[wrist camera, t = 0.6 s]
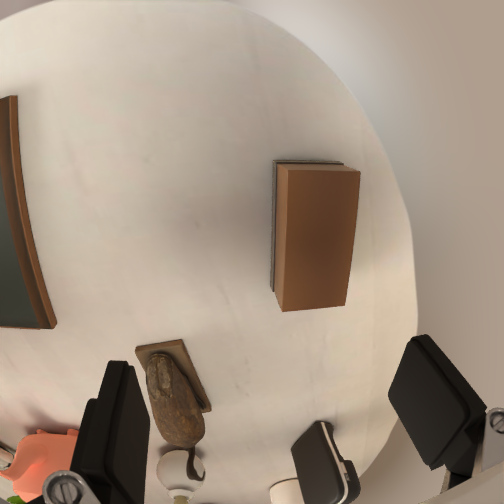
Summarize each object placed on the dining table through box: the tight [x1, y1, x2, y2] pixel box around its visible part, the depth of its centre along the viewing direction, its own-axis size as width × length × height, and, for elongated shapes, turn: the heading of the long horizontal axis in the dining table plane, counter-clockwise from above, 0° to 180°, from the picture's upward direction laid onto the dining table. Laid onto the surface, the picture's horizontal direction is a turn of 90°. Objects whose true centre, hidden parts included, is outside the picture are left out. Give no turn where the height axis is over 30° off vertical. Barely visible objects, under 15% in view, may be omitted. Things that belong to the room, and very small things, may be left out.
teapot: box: [0, 429, 79, 503], centre depth 27 cm, size 15×17×13 cm
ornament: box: [156, 450, 205, 504], centre depth 30 cm, size 6×7×10 cm
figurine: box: [135, 340, 211, 481], centre depth 26 cm, size 14×4×9 cm, turn 11°
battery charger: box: [291, 422, 361, 504], centre depth 31 cm, size 7×4×11 cm, turn 155°
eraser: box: [270, 160, 360, 312], centre depth 22 cm, size 5×10×4 cm, turn 0°
